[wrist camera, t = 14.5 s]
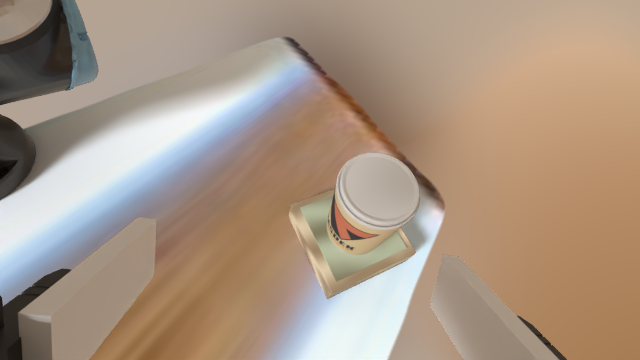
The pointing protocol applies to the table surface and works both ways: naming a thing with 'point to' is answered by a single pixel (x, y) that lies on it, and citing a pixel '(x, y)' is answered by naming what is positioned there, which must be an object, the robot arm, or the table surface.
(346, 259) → the birch riser
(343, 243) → the coffee cup
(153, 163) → the table surface
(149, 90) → the table surface
